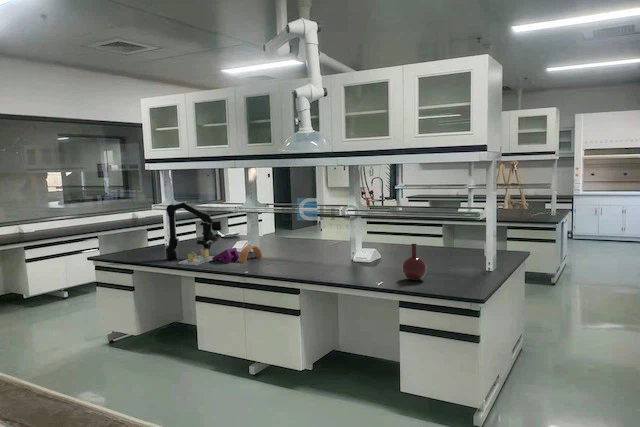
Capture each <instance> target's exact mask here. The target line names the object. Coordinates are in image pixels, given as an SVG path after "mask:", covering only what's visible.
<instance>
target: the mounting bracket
mask: <svg viewBox="0 0 640 427" xmlns="http://www.w3.org/2000/svg"><path fill="white" fill-rule="evenodd" d="M213 256H214V255H213ZM239 257H240V253H239V252H238V250H237V247H233V248H227V249H226V250H223V251H221V252H220V253H218V254H216V255H215V256H214V257H213V258H212V259H213V260H212V262H216V261H219V260H221V262H222V263H224V264H230V263H231V262H236V261H239Z"/></svg>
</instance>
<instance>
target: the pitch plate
mask: <svg viewBox="0 0 640 427" xmlns="http://www.w3.org/2000/svg"><path fill="white" fill-rule="evenodd" d="M196 257H197V260H196V261H193V262H192V261H188V258H187V259H184V260H181V261H179V262H178V265H186V266H187V265H188V266H197V265H200V264H203V263H206V262H209V261H213V259H212V258H213V257H214V255H213V256H212V255H209V256H206V257H204V256H201V255H196Z"/></svg>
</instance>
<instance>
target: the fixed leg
mask: <svg viewBox="0 0 640 427" xmlns="http://www.w3.org/2000/svg"><path fill="white" fill-rule="evenodd" d="M196 256H197V253H195V251H190V252H189V253H188V254H187V259H188V261H192V262H193V261H196V260H197V257H196Z"/></svg>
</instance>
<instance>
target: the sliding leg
mask: <svg viewBox="0 0 640 427" xmlns="http://www.w3.org/2000/svg"><path fill="white" fill-rule="evenodd" d="M200 256H204V257H206V256H210V250H209V249H206V247H204V246H203V247H202V248H201V249H200Z"/></svg>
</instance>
